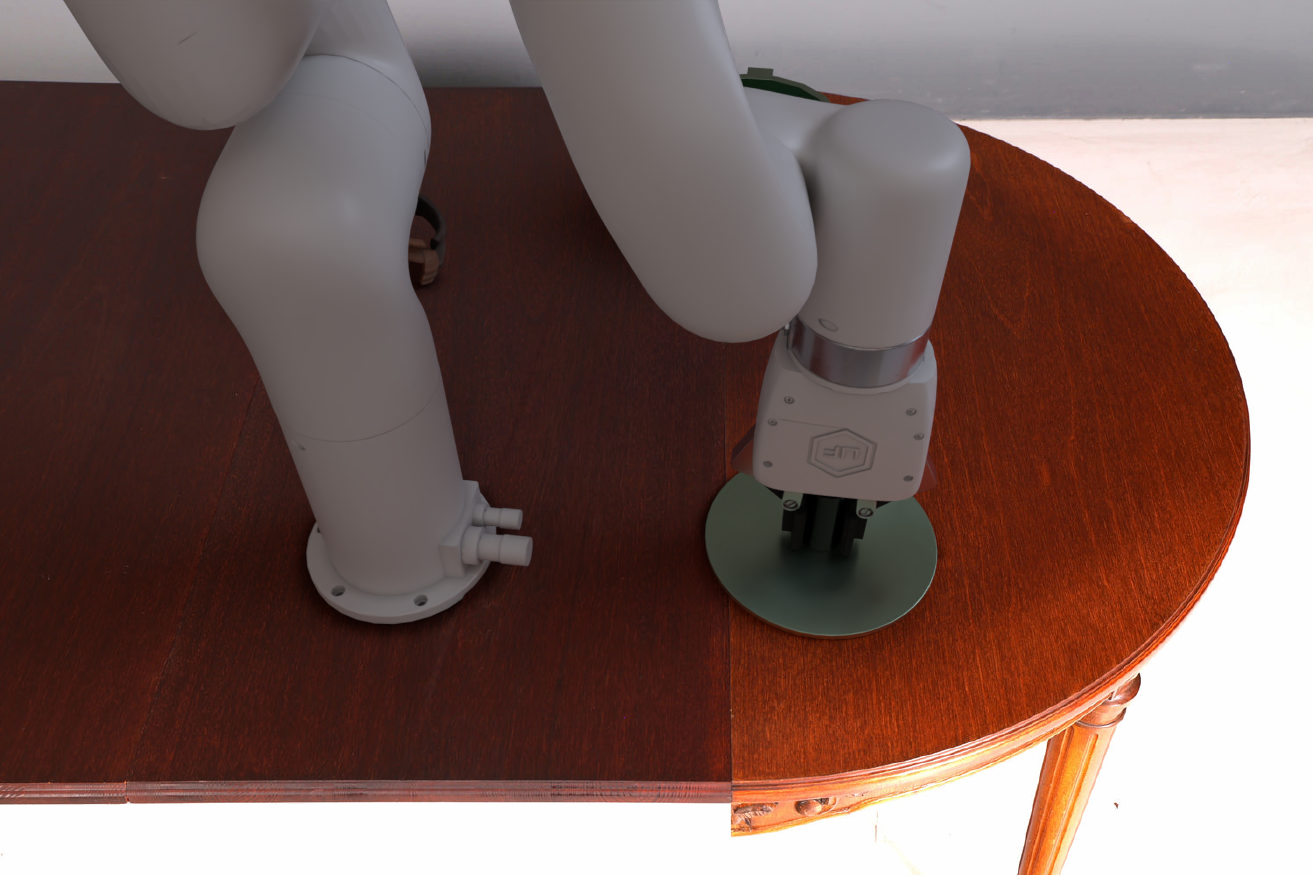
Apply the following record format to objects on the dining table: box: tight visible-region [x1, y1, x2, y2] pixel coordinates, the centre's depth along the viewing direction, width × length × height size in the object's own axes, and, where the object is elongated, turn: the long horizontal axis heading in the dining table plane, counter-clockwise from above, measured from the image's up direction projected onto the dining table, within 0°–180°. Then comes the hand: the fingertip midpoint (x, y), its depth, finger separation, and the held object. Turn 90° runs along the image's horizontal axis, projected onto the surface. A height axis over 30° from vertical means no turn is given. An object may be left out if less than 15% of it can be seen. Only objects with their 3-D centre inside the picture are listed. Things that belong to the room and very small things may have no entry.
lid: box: [704, 472, 938, 641], centre depth 69 cm, size 16×16×7 cm
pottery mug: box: [408, 192, 448, 286], centre depth 90 cm, size 12×10×8 cm
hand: (820, 535), depth 71 cm, fingers closed on lid, 2 cm apart
